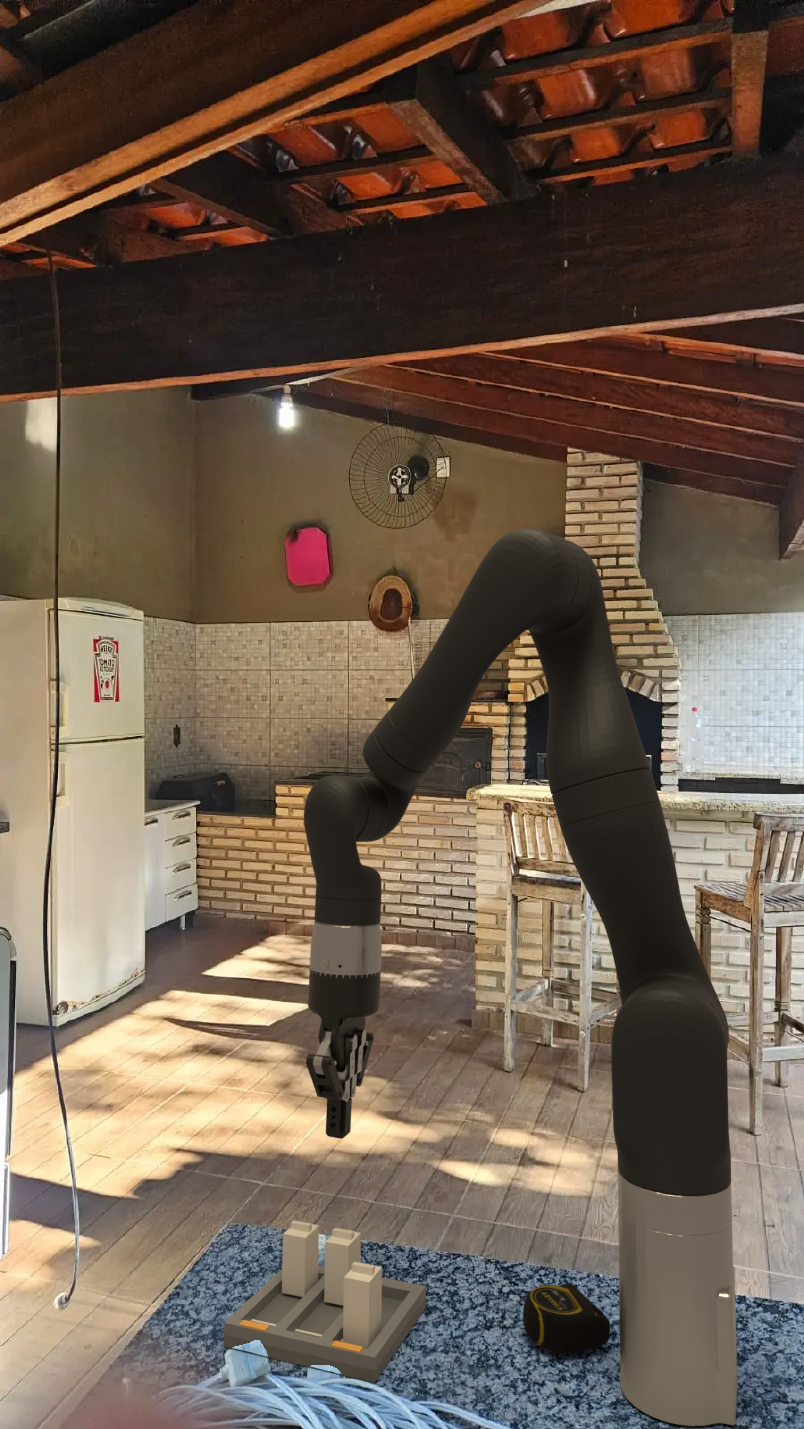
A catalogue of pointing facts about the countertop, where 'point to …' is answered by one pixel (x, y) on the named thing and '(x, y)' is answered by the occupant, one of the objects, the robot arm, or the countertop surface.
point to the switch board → (324, 1326)
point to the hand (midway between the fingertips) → (338, 1135)
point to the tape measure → (564, 1320)
